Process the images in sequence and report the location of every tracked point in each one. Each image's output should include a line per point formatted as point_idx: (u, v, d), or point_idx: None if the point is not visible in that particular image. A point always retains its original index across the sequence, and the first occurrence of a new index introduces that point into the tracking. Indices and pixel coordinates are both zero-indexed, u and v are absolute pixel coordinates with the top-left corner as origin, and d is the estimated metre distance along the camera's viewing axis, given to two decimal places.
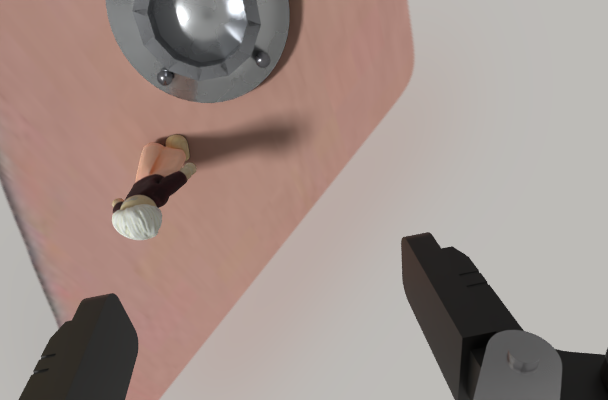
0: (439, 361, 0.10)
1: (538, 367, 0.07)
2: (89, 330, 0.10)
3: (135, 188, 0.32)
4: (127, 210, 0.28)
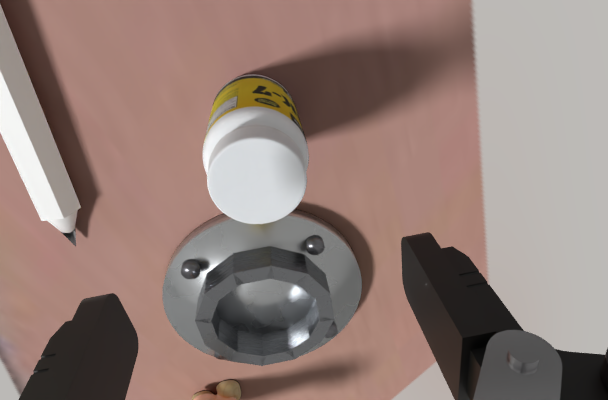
0: (439, 361, 0.10)
1: (538, 367, 0.07)
2: (89, 330, 0.10)
3: None
4: None
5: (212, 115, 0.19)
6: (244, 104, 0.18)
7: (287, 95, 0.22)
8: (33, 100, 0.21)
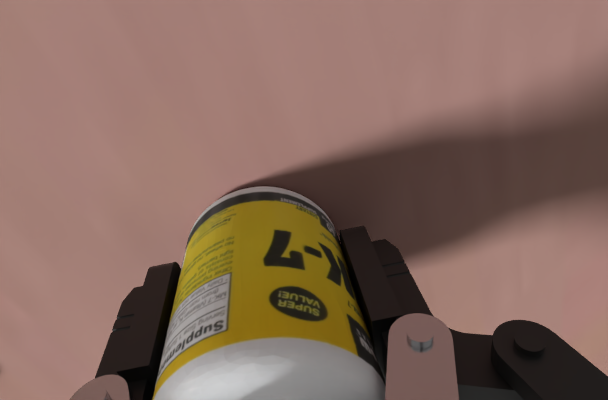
0: None
1: (430, 345, 0.08)
2: (161, 292, 0.10)
3: None
4: None
5: (177, 307, 0.09)
6: (246, 326, 0.07)
7: (328, 232, 0.11)
8: None
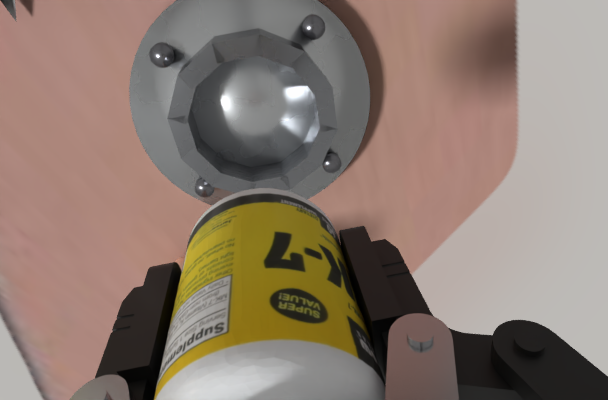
0: None
1: (430, 345, 0.08)
2: (161, 292, 0.10)
3: None
4: None
5: (178, 309, 0.09)
6: (247, 327, 0.07)
7: (328, 234, 0.11)
8: None
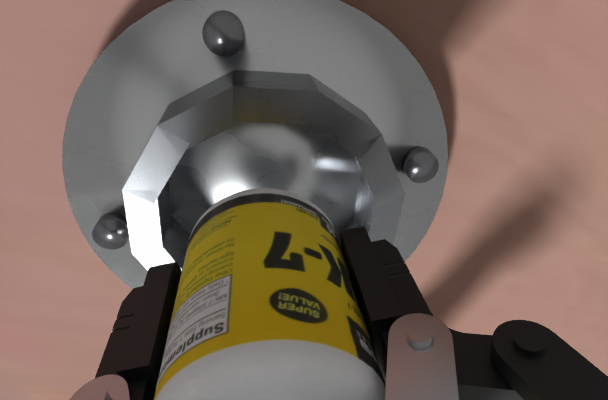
0: None
1: (430, 345, 0.08)
2: (161, 292, 0.10)
3: None
4: None
5: (178, 309, 0.09)
6: (247, 328, 0.07)
7: (328, 234, 0.11)
8: None
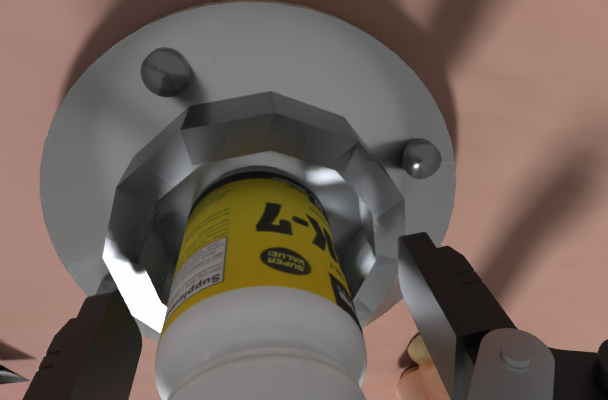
0: (434, 360, 0.10)
1: (531, 365, 0.07)
2: (94, 327, 0.10)
3: None
4: None
5: (179, 269, 0.10)
6: (239, 277, 0.08)
7: (315, 207, 0.12)
8: None
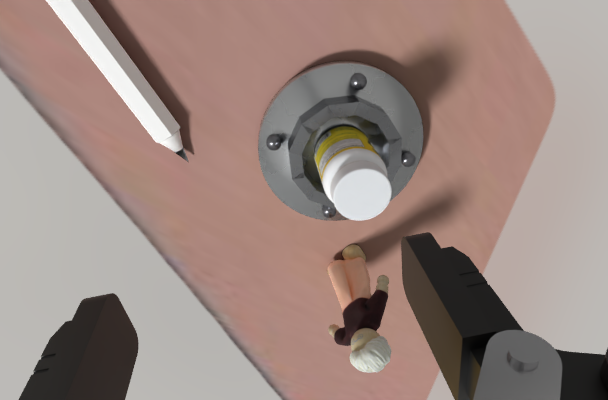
0: (439, 361, 0.10)
1: (538, 367, 0.07)
2: (89, 330, 0.10)
3: (348, 318, 0.36)
4: (364, 353, 0.31)
5: (339, 140, 0.30)
6: (369, 149, 0.29)
7: None
8: (123, 53, 0.30)
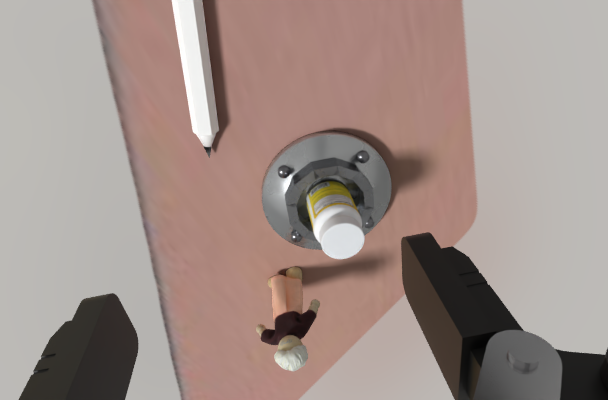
0: (439, 361, 0.10)
1: (538, 367, 0.07)
2: (89, 330, 0.10)
3: (280, 324, 0.44)
4: (290, 354, 0.40)
5: (336, 194, 0.40)
6: (356, 209, 0.39)
7: None
8: (208, 60, 0.36)
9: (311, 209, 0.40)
